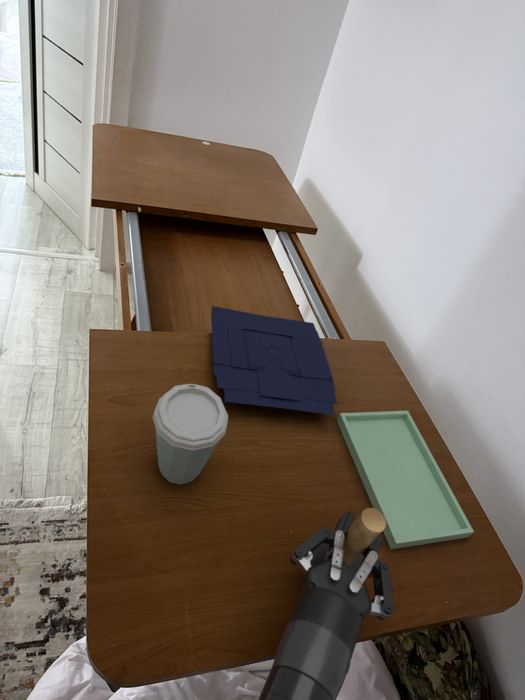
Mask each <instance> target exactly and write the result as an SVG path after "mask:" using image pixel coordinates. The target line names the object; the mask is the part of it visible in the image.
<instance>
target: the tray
mask: <svg viewBox="0 0 525 700" xmlns="http://www.w3.org/2000/svg"><path fill="white" fill-rule="evenodd" d="M335 420H336V422H337V425H338V428H339V430H340V432H341V434H342V437H343V440H344V442H345V445H346V447H347V449H348V451H349V454H350V456H351V459H352V461H353V463H354V465H355V468H356V471H357V473H358V476H359V477H360V480H361V482H362V484H363V488H364V489H365V492H366V494H367V496H368V499H369V502H370V503H371V506H372V508H374V509H376V510H378V511H379V512H380V513H381V514H382V515H383V516H384V518H385V521H386V526H385V529H384V530H383V531H382V532H383V534H384V537H385V539H386V542H387V545H388V546H389V548H390V550H395V549H401V548H402V549H403V548H409V547H415V546H422V545H429V544H435V543H441V542H448V541H454V540H460V539H466V538H469V537H470V536H471V535H473V534H474V533H475V531H474V529H473V527H472V525H471V524H470V522H469V520H468V518H467V517H466V514H465V512H464V511H463V509H462V506H460V503H459V501H458V499H457V497H456V496H455V494H454V493H453V491H452V489H451V487H450V485H449V483H448V482H447V479H446V478H445V476H444V474H443V472H442V470H441V469H440V467H439V464H438V463H437V461H436V459H435V457H434V456H433V454H432V452H431V450H430V447H428V444H427V443H426V441H425V439H424V437H423V436H422V433H421V432H420V430H419V429H418V427H417V425H416V423H415V421H414V419H413V418H412V416H411V414H410V411H409V410H390V411H389V410H387V411H362V412H361V411H360V412H359V411H358V412H339V414H338V416H337V418H336V419H335Z"/></svg>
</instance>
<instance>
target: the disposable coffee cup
mask: <svg viewBox="0 0 525 700" xmlns="http://www.w3.org/2000/svg"><path fill="white" fill-rule="evenodd" d="M152 420H153V423H154V426H155V439H156V453H157V455H156V456H157V465H158V468H159V472H160V474H161V476H162V477H163V478H164V479H166V480H167V481H168V483H171V484H175V485H180V486H181V485H184V484H188V483H192V482H193V481H194V480H195V479H196V478H197V477H198V476H199V475H200V474H201V472H202V471H203V469H204V468H205V466H206V464H207V462H208V460H209V459H210V457H211V456H212V454H213V453H214V451H215V450H216V448H217V446H218V445H219V442H220V441H221V440H222V438H223V437H225V435H226V431H227V427H228V423H229V414H228V412H227V410H226V407H225V406H224V403H223V401H222V398H221V397H220V396H219V395H217V394H216V393H215V391H213V390H212V389H211V388H209V387H207V386H204V385H200V384H196V383H184V384H178V385H174V386H172V388H171V389H170V390H168V391H167V392H165V393H164V394H163V395H162V396H161V397H160V398H159V399H158V402H157V403H156V405H155V409H154V412H153V415H152Z"/></svg>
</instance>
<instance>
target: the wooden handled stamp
mask: <svg viewBox="0 0 525 700" xmlns="http://www.w3.org/2000/svg"><path fill="white" fill-rule="evenodd" d="M385 526H386V521H385V518H384V516H383V515H382V514H381V513H380V512H379V511H378V510H376V509H374V508H373V507H367V508H365V509H363V510H362V512H361V513H360V514H359V515H358V517H356V519H355V520H354V521H353V522H352V523H351V526H350V528H349V530H348V533H347V535H346V536H345V538H344V544H343V549H344V552H343V558H342V560H344V561H345V562H346V563H347V564H348V565H349V566H352V567H355V568H357V567H358V566H359V564H360V563H361V561H362V560H363V557H364V556H363V555H362V554H363V552H364V551H365V550H366V549H367V548H368V546H369V545H370V544H371V543H372V542H373V541H374V540H375V539H376V538H377V537H378V536H379V534H380V533H381V534H382V532H383V530H384V529H385ZM328 545H329V544H325V543H323V544H322V545H320V546H319V547H318V548H317V549H315V550H314V551H313V552H312V554H313V558H312V559H311V562H310V563H311V566H314V565H316V564H318V563H320V562H323V561H325V557H326V554H327V551H328ZM370 578H371V579H372V578H373V573H372V572H371V571H370V573H369V575H368V576H367V578H366V579H370Z"/></svg>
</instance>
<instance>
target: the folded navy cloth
mask: <svg viewBox="0 0 525 700" xmlns="http://www.w3.org/2000/svg"><path fill="white" fill-rule="evenodd" d="M210 323H211V342H212V343H211V344H212V364H213V365H212V366H213V375H214V376H215V377H216V386H217V388H218V389H223V393H224V395H223V396H224V402H225V403H235V404H243V405H251V406H259V407H268V408H269V407H270V408H277V409H278V408H279V409H285V410H286V409H287V410H293V411H301V412H307V413H316V414H324V415H331V416H336V414H335V410H334V406H333V404H338V401H337V397H336V392H337V389H336V387H335V383H334V378H333V374H332V371H331V368H330V365H329V362H328V359H327V355H326V352H325V350H324V346H323V343H322V339H321V337H320V334H319V332H318V330H317V329H316V328H317V327H316V325H315V323H314V322H310V321H304V320H303V321H302V320H295V319H290V318H289V319H288V318H282V317H277V316H276V317H274V316H268V315H263V314H262V315H261V314H257V313H251V312H246V311H241V310H236V309H231V308H225V307H220V306H215V305H211V313H210Z"/></svg>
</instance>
